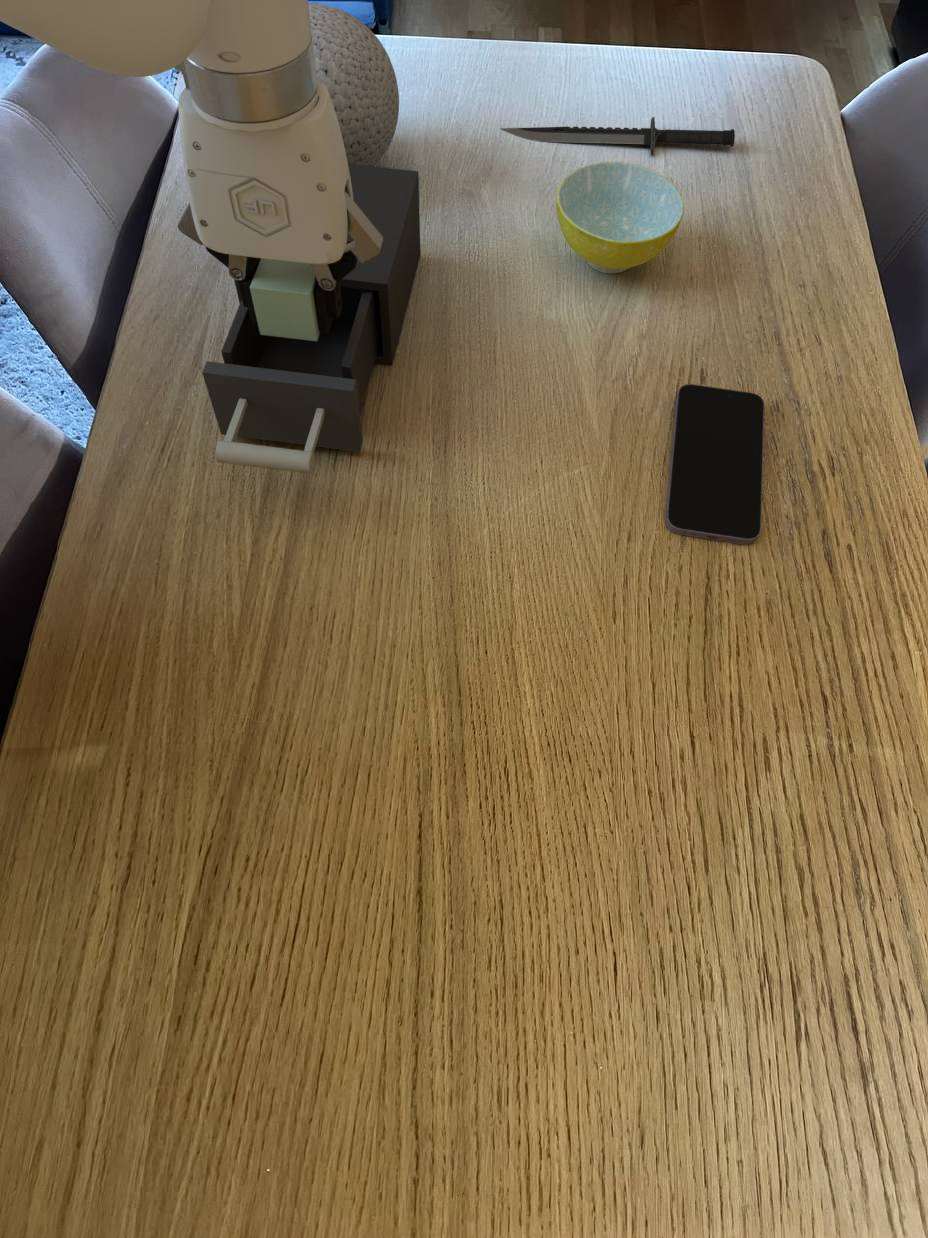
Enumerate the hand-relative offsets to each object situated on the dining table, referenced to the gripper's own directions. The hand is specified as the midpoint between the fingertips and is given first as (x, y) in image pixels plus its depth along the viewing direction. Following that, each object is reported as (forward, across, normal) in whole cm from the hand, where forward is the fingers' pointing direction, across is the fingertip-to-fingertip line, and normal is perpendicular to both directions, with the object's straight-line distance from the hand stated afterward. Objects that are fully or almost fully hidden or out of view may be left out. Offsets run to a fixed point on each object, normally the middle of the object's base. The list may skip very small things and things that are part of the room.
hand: (294, 314), depth 69 cm
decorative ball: (+9, -5, +30) cm, 32 cm away
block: (0, 0, 0) cm, 0 cm away
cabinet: (+9, 0, +12) cm, 15 cm away
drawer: (+8, 0, -2) cm, 8 cm away
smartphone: (+9, +34, -2) cm, 35 cm away
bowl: (+9, +24, +22) cm, 34 cm away
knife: (+9, +23, +41) cm, 48 cm away
